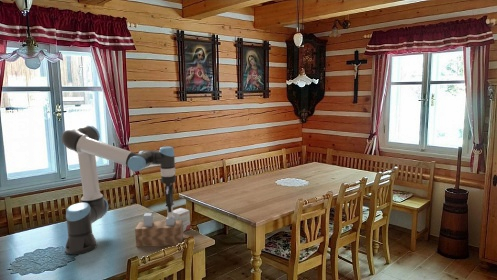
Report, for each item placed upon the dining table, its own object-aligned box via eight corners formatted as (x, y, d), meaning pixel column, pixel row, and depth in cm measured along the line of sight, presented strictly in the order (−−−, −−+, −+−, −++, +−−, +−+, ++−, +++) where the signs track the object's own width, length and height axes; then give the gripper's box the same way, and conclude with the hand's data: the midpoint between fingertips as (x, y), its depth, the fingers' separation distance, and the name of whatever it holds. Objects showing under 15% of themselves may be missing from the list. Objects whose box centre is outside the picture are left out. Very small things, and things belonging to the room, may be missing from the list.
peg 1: (144, 232, 190) (143, 215, 189) (145, 229, 194) (145, 213, 193) (151, 232, 191) (150, 215, 189) (153, 229, 195) (152, 213, 193)
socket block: (136, 246, 188) (135, 228, 187) (140, 238, 198) (139, 222, 196) (181, 244, 190) (180, 227, 188) (183, 237, 199) (182, 220, 198)
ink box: (181, 225, 217) (180, 207, 215) (190, 228, 212) (190, 209, 210) (170, 229, 211) (169, 210, 209) (179, 233, 205) (178, 213, 203)
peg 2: (166, 235, 191) (165, 219, 190) (167, 232, 195) (167, 216, 194) (174, 235, 192) (173, 218, 190) (175, 232, 196) (174, 216, 194)
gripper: (173, 177, 183) (175, 221, 186) (176, 172, 196) (178, 212, 199) (158, 178, 182) (161, 221, 185) (163, 172, 195) (165, 213, 198)
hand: (170, 217), depth 192 cm, fingers closed
